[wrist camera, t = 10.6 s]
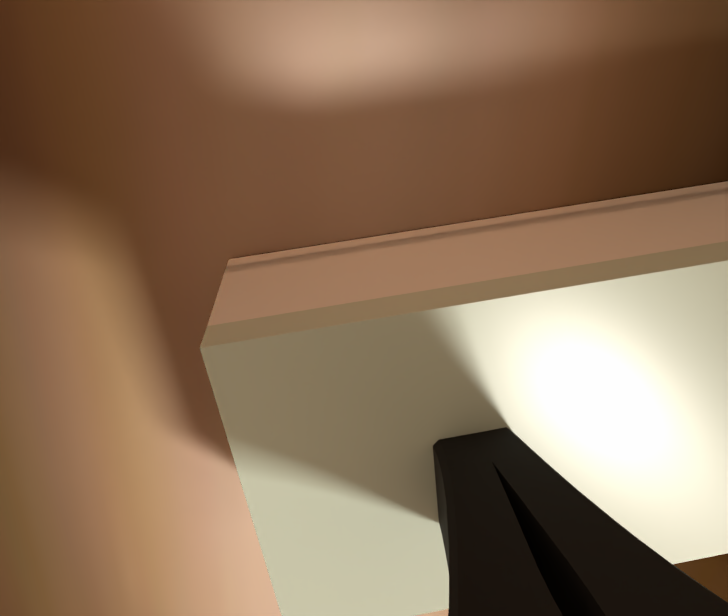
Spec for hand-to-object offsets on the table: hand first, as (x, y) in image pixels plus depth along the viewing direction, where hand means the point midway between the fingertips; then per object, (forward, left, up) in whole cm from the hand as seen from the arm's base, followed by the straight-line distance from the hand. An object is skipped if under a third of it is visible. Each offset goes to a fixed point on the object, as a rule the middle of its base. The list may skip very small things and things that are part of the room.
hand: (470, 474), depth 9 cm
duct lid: (-6, 0, -1) cm, 6 cm away
